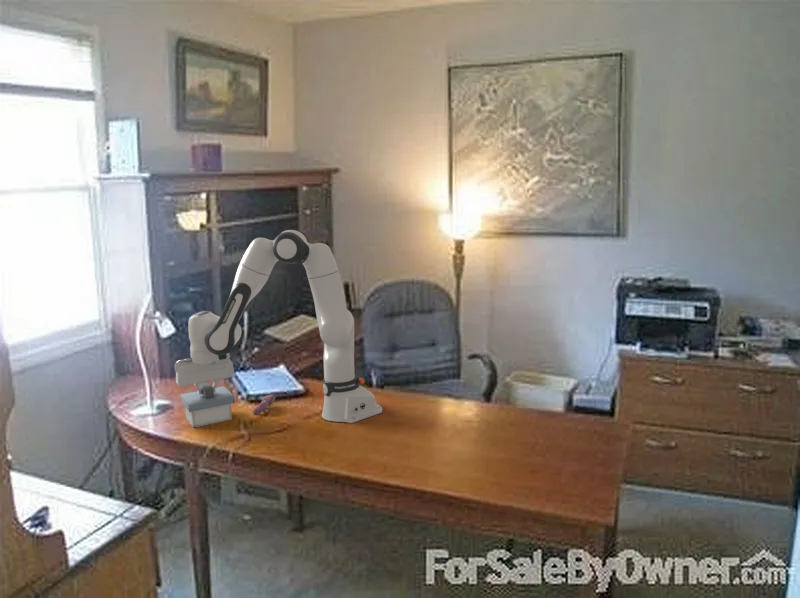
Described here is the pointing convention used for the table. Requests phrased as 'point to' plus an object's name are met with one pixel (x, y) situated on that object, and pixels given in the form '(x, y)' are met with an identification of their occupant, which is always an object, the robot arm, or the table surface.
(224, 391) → the lid
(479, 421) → the table surface
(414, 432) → the table surface
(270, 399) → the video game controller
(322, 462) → the table surface
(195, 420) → the storage box
